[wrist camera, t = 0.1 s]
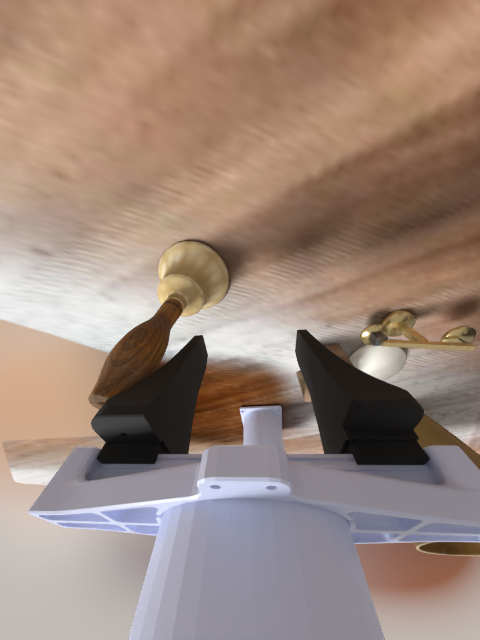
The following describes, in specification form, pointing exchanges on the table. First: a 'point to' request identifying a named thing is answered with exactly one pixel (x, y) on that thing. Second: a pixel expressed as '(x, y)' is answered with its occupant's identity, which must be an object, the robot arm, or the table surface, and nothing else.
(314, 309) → the table surface
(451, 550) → the plant pot
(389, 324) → the balance
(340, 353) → the cover
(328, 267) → the table surface
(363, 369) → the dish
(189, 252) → the hand bell
